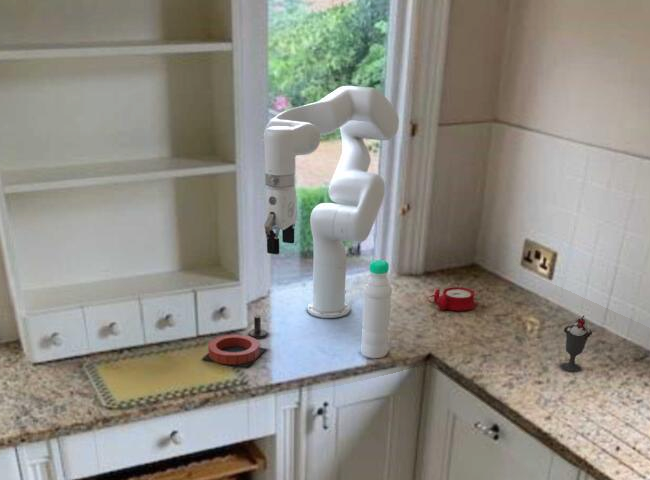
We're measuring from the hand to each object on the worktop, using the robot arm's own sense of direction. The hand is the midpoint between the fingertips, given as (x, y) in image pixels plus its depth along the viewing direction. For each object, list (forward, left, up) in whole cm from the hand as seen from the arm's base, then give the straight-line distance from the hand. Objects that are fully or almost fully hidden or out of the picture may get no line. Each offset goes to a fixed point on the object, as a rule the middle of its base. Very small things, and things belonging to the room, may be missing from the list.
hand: (280, 248), depth 207 cm
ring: (+13, -8, -26) cm, 30 cm away
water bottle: (-2, +26, -26) cm, 37 cm away
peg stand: (-1, -8, -26) cm, 27 cm away
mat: (+13, -8, -26) cm, 30 cm away
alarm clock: (-44, +37, -26) cm, 63 cm away
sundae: (-13, +75, -26) cm, 81 cm away
